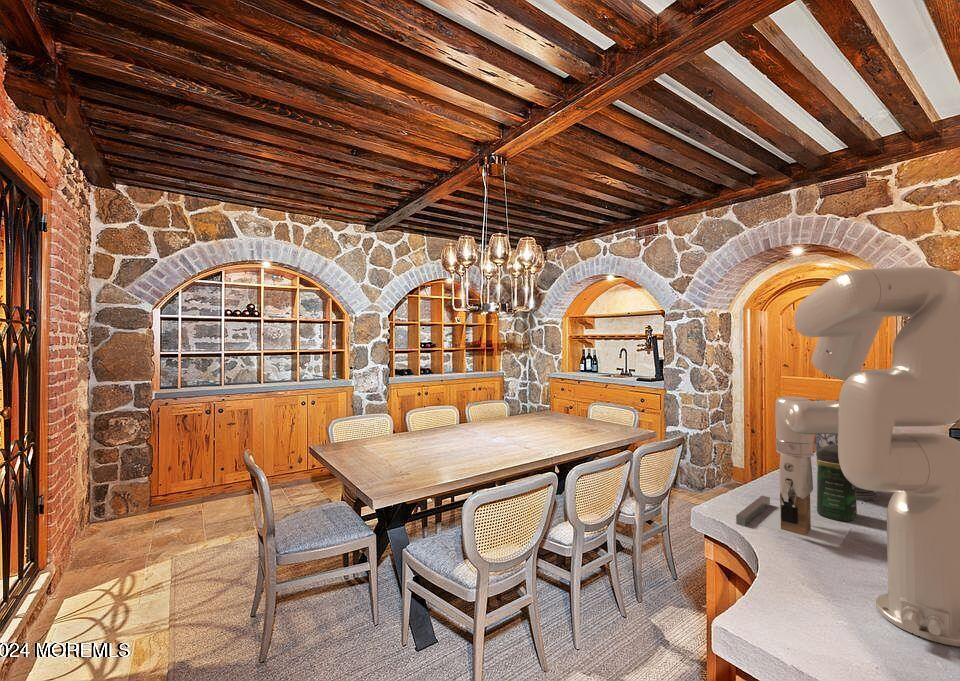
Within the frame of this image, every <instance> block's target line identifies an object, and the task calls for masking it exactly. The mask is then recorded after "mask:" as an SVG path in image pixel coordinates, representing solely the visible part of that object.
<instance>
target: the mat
mask: <svg viewBox="0 0 960 681" xmlns="http://www.w3.org/2000/svg"><path fill="white" fill-rule="evenodd" d="M758 526H759V527H762V528H766V529H769V530H773V531H777V532H780V533H784V534H788V535H791V536H795V537H798V538H799V537H800V538H803V539H806V540H810V541H814V542H817V543H821V544H824V545H829V546H833V547H836V548H840V546H841V545H842V544H843V542H844V540H845V539H846V538H847V535H848V534H849V533H850V531H851V529H852V528H850V527H847V526H844V525H838V524H833V523H829V522H826V521H823V520H822V521H820V520H818V519H814V518H811V530H810V531H809V532H808V533H807V535H806V536H805V535H801V534H797V533H793V532H790V531H786V530H782V529H781V512H780V510H776V509H775V510H773V511H772V512H771V513H770V514H769V515H768V516H766V517H765V518H764V519H763V520H762V521H761V522H760V523H759V524H758Z"/></svg>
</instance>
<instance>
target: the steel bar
mask: <svg viewBox="0 0 960 681" xmlns="http://www.w3.org/2000/svg"><path fill="white" fill-rule="evenodd" d="M770 506H771V497H770V496H767V495H760V496H759V497H758V498H756V499H755V500H754V501H752V503H750V504H749V505H747V507H745V508H744V509H742V510H741V511H739V512H738V513H737V514H736V515H735V517H736V518H735V519H736V520H735V522H736V525H739V526H741V527H746V526H748V524H750V523H751V522H753V520H755V519H756V518H757V517H758V516H759V515H760V514H762V513H763V512H764V511H765V510H766V509H768V508H769V507H770Z"/></svg>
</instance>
